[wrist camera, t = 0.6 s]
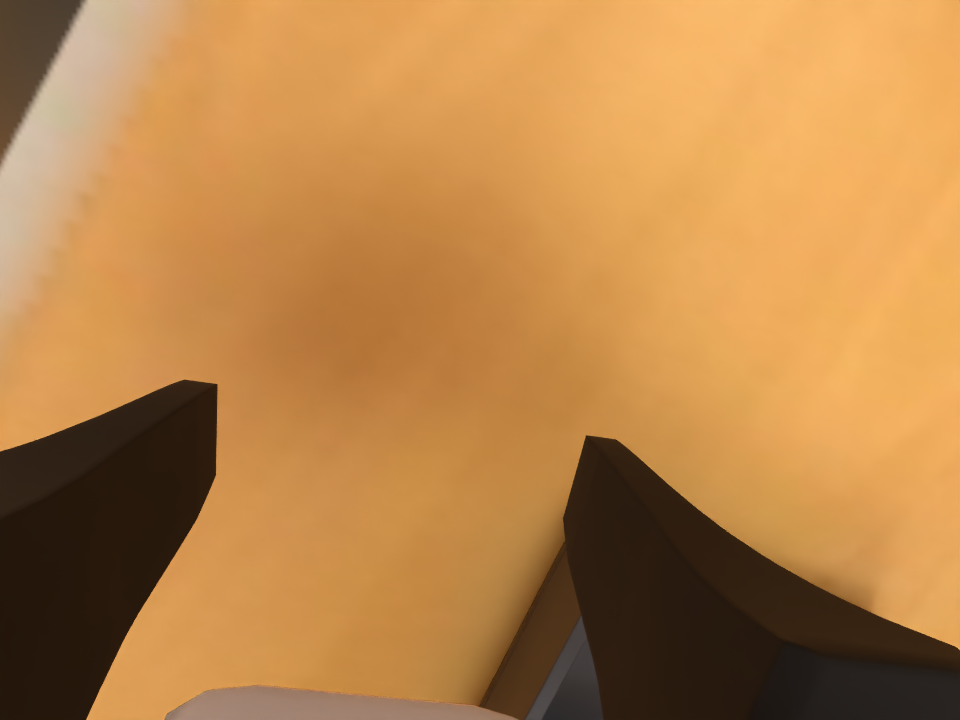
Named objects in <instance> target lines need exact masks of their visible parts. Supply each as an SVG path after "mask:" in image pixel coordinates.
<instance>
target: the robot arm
mask: <svg viewBox="0 0 960 720" xmlns="http://www.w3.org/2000/svg"><path fill="white" fill-rule="evenodd" d="M216 439H217V384H212V383H205V382H198V381H190V380H182V381H179V382H176V383H173V384H171V385H168V386H166V387H163V388H161V389H159V390H157V391H154V392H152V393H150V394H147V395H145V396H143V397H141V398H139V399H136V400H134V401H132V402H130V403H127V404H125V405H123V406H121V407H118V408H116V409H114V410H111V411H109V412H107V413H105V414H102V415H100V416H98V417H95V418H93V419H90V420H88V421H85V422H82V423H80V424H77V425H75V426H72V427H70V428H67V429H65V430H62V431H60V432H57V433H55V434H52V435H49V436H47V437H44V438H41V439H38V440H35V441H33V442H30V443H27V444H24V445H21V446H17V447H14V448H11V449H8V450H4V451H1V452H0V720H86V719H87V716H88V714H89V712H90V710H91V708H92V706H93V703H94V701H95V699H96V697H97V695H98V692H99V690H100V688H101V686H102V684H103V682H104V680H105V678H106V676H107V673H108V671H109V669H110V667H111V665H112V663H113V661H114V659H115V657H116V655H117V653H118V651H119V649H120V647H121V644H122V642H123V640H124V638H125V636H126V635H127V633H128V631H129V629H130V627H131V626H132V624H133V622H134V620H135V619H136V617H137V615H138V613H139V612H140V610H141V609H142V607H143V605H144V604H145V602H146V600H147V599H148V597H149V596H150V594H151V592H152V591H153V589H154V588H155V586H156V584H157V583H158V581H159V580H160V578H161V576H162V575H163V573H164V572H165V570H166V568H167V567H168V565H169V564H170V562H171V560H172V559H173V557H174V556H175V554H176V552H177V551H178V549H179V548H180V546H181V544H182V543H183V541H184V539H185V538H186V536H187V534H188V533H189V531H190V530H191V528H192V526H193V524H194V523H195V521H196V519H197V518H198V515H199V513H200V511H201V509H202V506H203V504H204V502H205V500H206V498H207V495H208V493H209V490H210V488H211V486H212V483H213V481H214V478H215V476H216ZM563 522H564V533H565V543H566V551H567V559H568V565H569V569H570V573H571V577H572V581H573V585H574V589H575V593H576V597H577V601H578V605H579V609H580V612H581V616H582V620H583V624H584V628H585V632H586V635H587V639H588V643H589V647H590V651H591V655H592V658H593V662H594V667H595V672H596V677H597V681H598V687H599V694H600V700H601V707H602V714H603V720H960V650H959V649H958V648H956V647H955V646H952V645H950V644H947V643H945V642H942V641H939V640H937V639H934V638H932V637H929V636H927V635H924V634H922V633H919V632H917V631H914V630H912V629H909V628H906V627H904V626H901V625H899V624H896V623H894V622H891V621H889V620H886V619H884V618H882V617H879V616H877V615H875V614H873V613H871V612H868V611H866V610H864V609H862V608H860V607H858V606H856V605H853V604H851V603H849V602H847V601H845V600H843V599H840V598H839V597H837V596H835V595H833V594H831V593H829V592H827V591H825V590H823V589H821V588H819V587H817V586H815V585H813V584H811V583H809V582H808V581H806V580H804V579H802V578H800V577H799V576H797V575H795V574H793V573H792V572H790V571H788V570H786V569H784V568H783V567H781V566H779V565H777V564H776V563H774V562H773V561H771V560H769V559H768V558H766V557H764V556H763V555H761V554H760V553H758V552H757V551H755V550H754V549H752V548H751V547H749V546H748V545H746V544H745V543H743V542H742V541H740V540H739V539H737V538H736V537H734V536H733V535H731V534H730V533H728V532H727V531H726V530H724V529H723V528H721V527H720V526H719V525H717V524H716V523H715V522H714V521H712V520H711V519H710V518H708V517H707V516H706V515H705V514H703V513H702V512H701V511H699V510H698V509H697V508H696V507H694V506H693V505H692V504H691V503H690V502H688V501H687V500H686V499H685V498H684V497H682V496H681V495H680V494H679V493H678V492H676V491H675V490H674V489H673V488H672V487H671V486H670V485H668V484H667V483H666V482H665V481H664V480H663V479H662V478H660V477H659V476H658V475H657V474H656V473H655V472H654V471H653V470H651V469H650V468H649V467H648V466H647V465H646V464H645V463H644V462H643V461H641V460H640V459H639V458H638V457H637V456H636V455H635V454H633V453H632V452H631V451H630V450H629V449H628V448H626V447H625V446H624V445H623V444H621V443H620V442H619V441H617V440H616V439H609V438H602V437H595V436H587V435H586V438H585V441H584V445H583V449H582V452H581V456H580V459H579V463H578V467H577V470H576V474H575V478H574V481H573V485H572V488H571V492H570V496H569V499H568V503H567V506H566V510H565V514H564V517H563ZM165 720H518V719H516V718H514V717H511V716H508V715H505V714H501V713H498V712H494V711H491V710H488V709H484V708H481V707H478V706H474V705H467V704H456V703H446V702H435V701H424V700H414V699H403V698H392V697H381V696H371V695H360V694H349V693H339V692H328V691H317V690H307V689H296V688H285V687H275V686H264V685H254V686H244V687H233V688H222V689H212V690H208V691H205V692H203V693H201V694H200V695H198V696H196V697H195V698H193V699H191V700H189V701H188V702H186V703H184V704H183V705H181V706H179V707H178V708H176V709H174V710H172V711H171V712H169V713H167V715H166V718H165Z"/></svg>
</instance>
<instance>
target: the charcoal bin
mask: <svg viewBox="0 0 960 720" xmlns="http://www.w3.org/2000/svg"><path fill="white" fill-rule="evenodd" d="M479 707H481V708H484V709H488V710H491V711H494V712H498V713H501V714H505V715H508V716H511V717H514V718H516V719H518V720H603V714H602V707H601V700H600V694H599V687H598V681H597V677H596V672H595V667H594V662H593V658H592V655H591V651H590V647H589V643H588V639H587V635H586V632H585V628H584V624H583V620H582V616H581V612H580V609H579V605H578V601H577V597H576V593H575V589H574V585H573V581H572V577H571V573H570V569H569V565H568V559H567V551H566V543H565V542H564V544H563V546H562V548H561V550H560V552H559V554H558V555H557V557H556V559H555V561H554V563H553V565H552V567H551V569H550V571H549V573H548V575H547V577H546V579H545V581H544V583H543V584H542V586H541V588H540V590H539V592H538V594H537V596H536V598H535V600H534V602H533V604H532V606H531V608H530V610H529V612H528V613H527V615H526V617H525V619H524V621H523V623H522V625H521V627H520V629H519V631H518V633H517V635H516V637H515V639H514V640H513V642H512V644H511V646H510V648H509V650H508V652H507V654H506V656H505V658H504V660H503V662H502V664H501V666H500V668H499V669H498V671H497V673H496V675H495V677H494V679H493V681H492V683H491V685H490V687H489V689H488V691H487V693H486V695H485V697H484V698H483V700H482V702H481V704H480V706H479Z"/></svg>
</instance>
